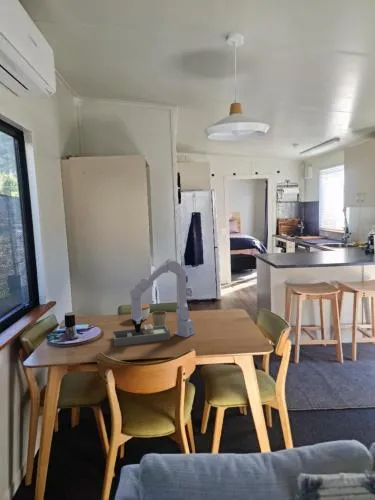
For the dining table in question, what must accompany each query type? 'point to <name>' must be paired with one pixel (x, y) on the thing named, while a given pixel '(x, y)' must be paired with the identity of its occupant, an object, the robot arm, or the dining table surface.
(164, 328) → the pad
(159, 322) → the flower pot
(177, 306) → the robot arm
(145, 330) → the cream block
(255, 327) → the dining table surface
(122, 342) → the channel
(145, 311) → the lidded bowl
